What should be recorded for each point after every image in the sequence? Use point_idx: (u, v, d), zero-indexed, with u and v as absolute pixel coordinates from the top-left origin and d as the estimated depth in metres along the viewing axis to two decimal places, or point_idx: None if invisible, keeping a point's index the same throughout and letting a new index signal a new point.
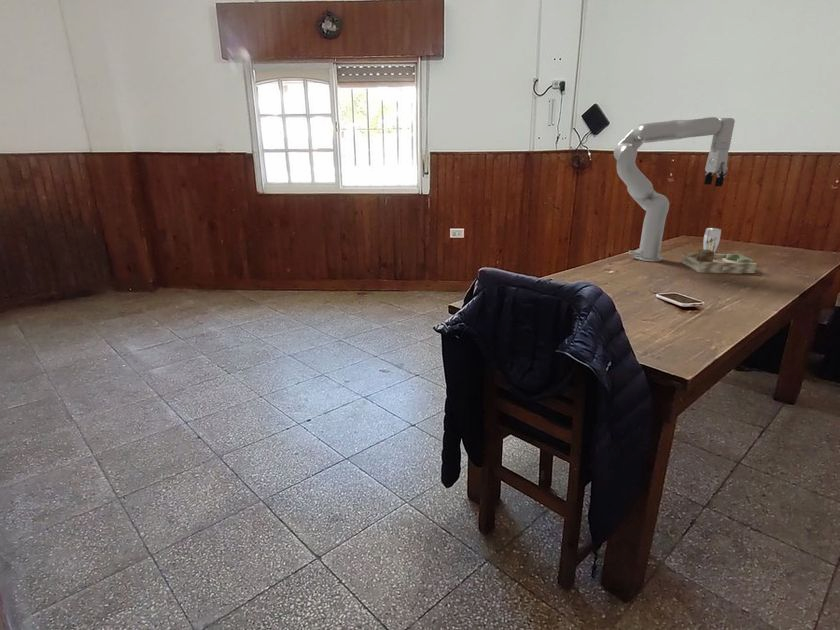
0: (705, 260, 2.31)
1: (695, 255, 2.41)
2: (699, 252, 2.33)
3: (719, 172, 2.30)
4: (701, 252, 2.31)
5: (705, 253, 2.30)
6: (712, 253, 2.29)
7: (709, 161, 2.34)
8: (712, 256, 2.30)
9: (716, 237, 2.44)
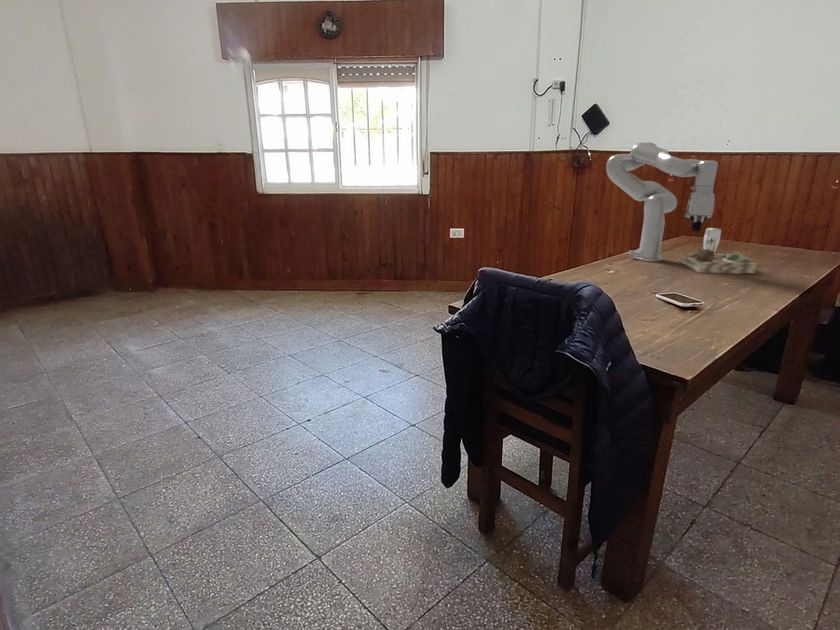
0: (705, 260, 2.31)
1: (695, 255, 2.41)
2: (699, 252, 2.33)
3: (702, 216, 2.27)
4: (701, 252, 2.31)
5: (705, 253, 2.30)
6: (712, 253, 2.29)
7: (699, 205, 2.23)
8: (712, 256, 2.30)
9: (716, 237, 2.44)
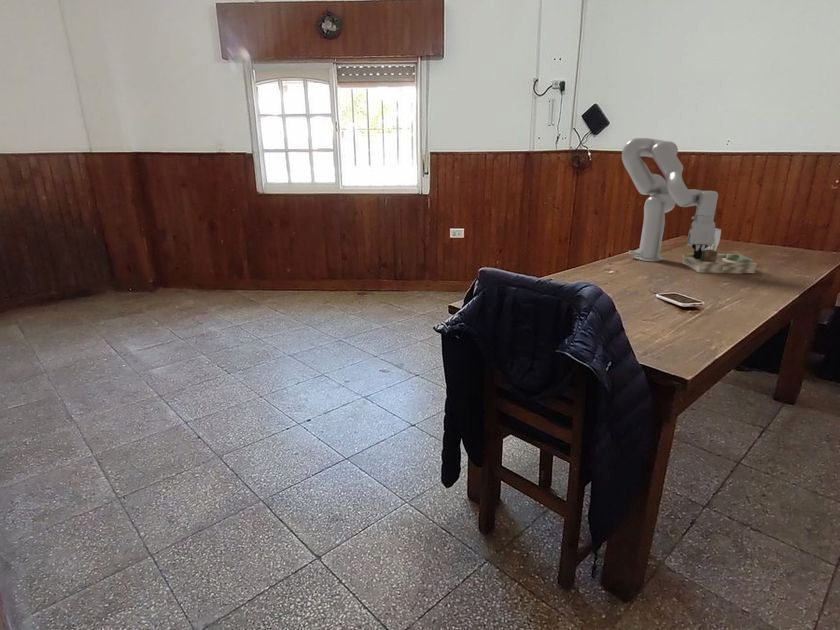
0: (708, 260, 2.31)
1: None
2: (702, 252, 2.33)
3: None
4: (704, 252, 2.31)
5: (708, 253, 2.30)
6: (715, 253, 2.29)
7: (700, 234, 2.27)
8: (715, 256, 2.30)
9: (716, 237, 2.44)
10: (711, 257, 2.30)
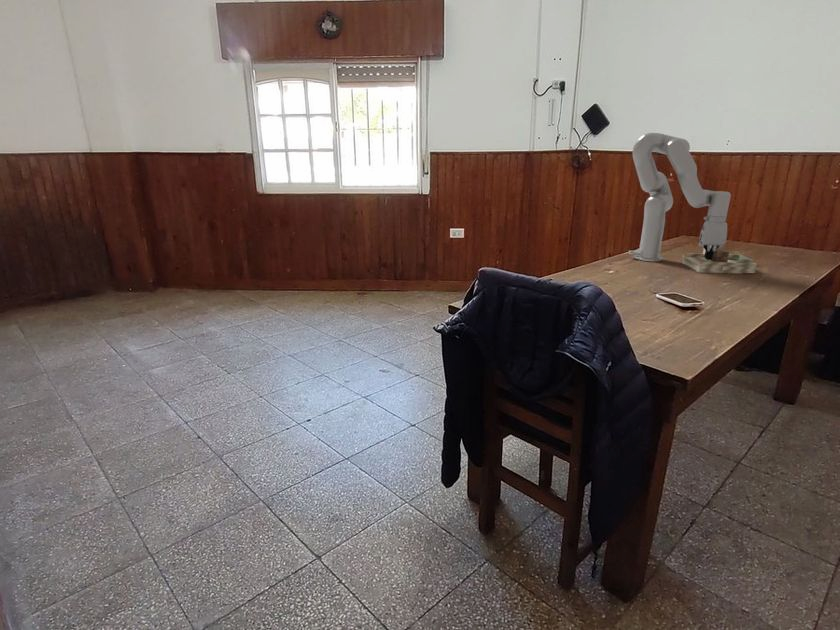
0: (720, 260, 2.30)
1: (695, 255, 2.41)
2: (714, 252, 2.33)
3: (714, 245, 2.30)
4: (716, 252, 2.31)
5: (720, 253, 2.29)
6: (727, 253, 2.29)
7: (712, 234, 2.26)
8: (727, 256, 2.29)
9: None
10: (723, 257, 2.30)
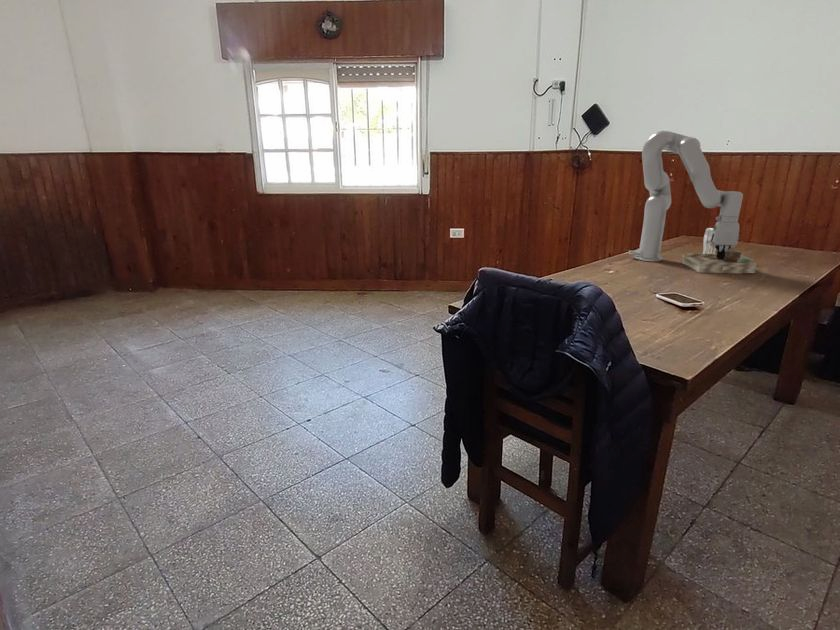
0: (731, 261, 2.30)
1: (695, 255, 2.41)
2: (725, 253, 2.32)
3: None
4: (727, 253, 2.30)
5: (732, 254, 2.29)
6: (739, 254, 2.28)
7: (724, 235, 2.26)
8: (739, 257, 2.29)
9: None
10: (735, 258, 2.29)
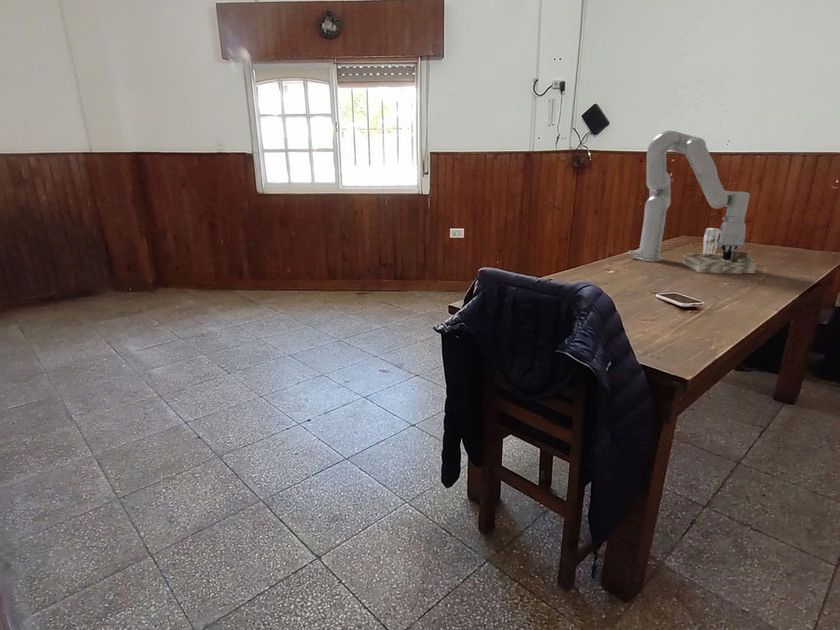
0: None
1: (695, 255, 2.41)
2: (732, 253, 2.32)
3: None
4: (734, 253, 2.30)
5: (738, 254, 2.28)
6: (745, 254, 2.28)
7: (730, 235, 2.26)
8: (745, 257, 2.29)
9: (716, 237, 2.44)
10: (741, 258, 2.29)
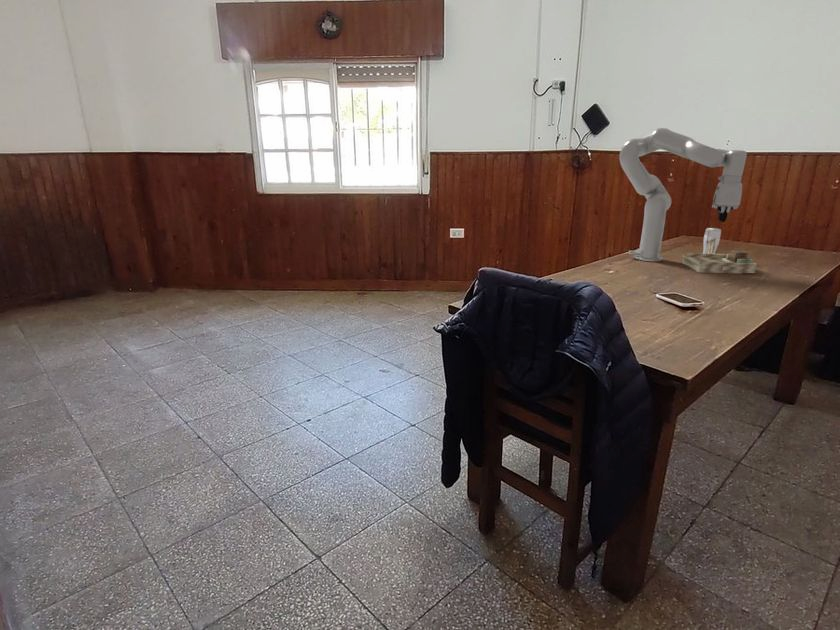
0: None
1: (695, 255, 2.41)
2: (732, 253, 2.32)
3: None
4: (734, 253, 2.30)
5: (738, 254, 2.28)
6: (745, 254, 2.28)
7: (726, 195, 2.21)
8: (745, 257, 2.29)
9: (716, 237, 2.44)
10: (741, 258, 2.29)
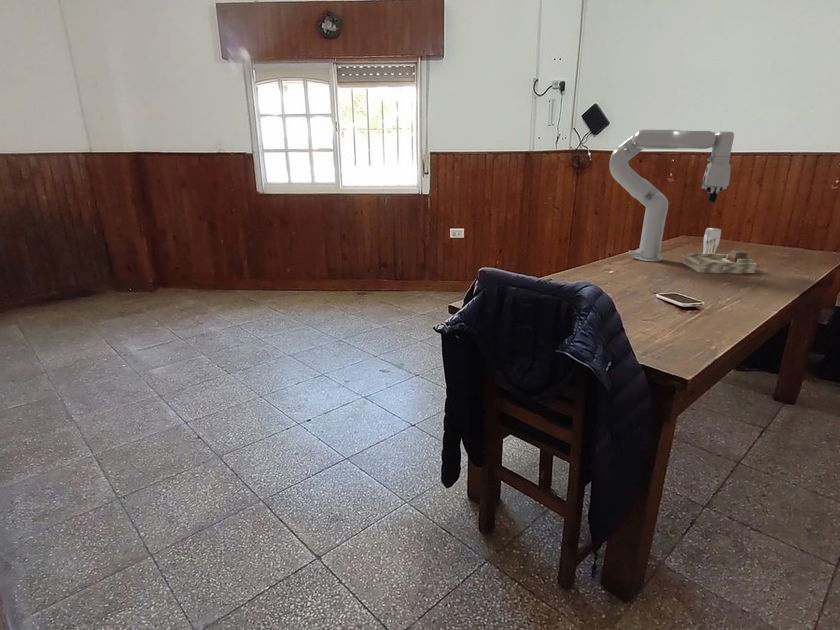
0: None
1: (695, 255, 2.41)
2: (732, 253, 2.32)
3: None
4: (734, 253, 2.30)
5: (738, 254, 2.28)
6: (745, 254, 2.28)
7: (715, 175, 2.27)
8: (745, 257, 2.29)
9: (716, 237, 2.44)
10: (741, 258, 2.29)
